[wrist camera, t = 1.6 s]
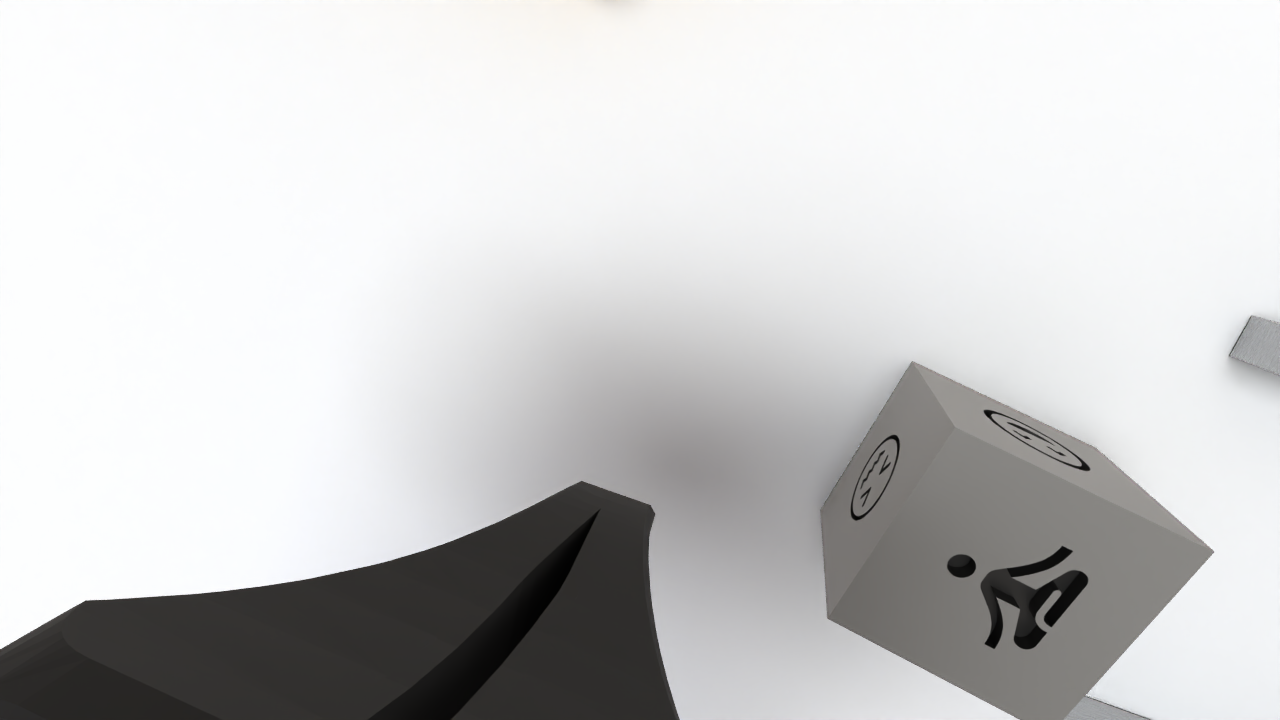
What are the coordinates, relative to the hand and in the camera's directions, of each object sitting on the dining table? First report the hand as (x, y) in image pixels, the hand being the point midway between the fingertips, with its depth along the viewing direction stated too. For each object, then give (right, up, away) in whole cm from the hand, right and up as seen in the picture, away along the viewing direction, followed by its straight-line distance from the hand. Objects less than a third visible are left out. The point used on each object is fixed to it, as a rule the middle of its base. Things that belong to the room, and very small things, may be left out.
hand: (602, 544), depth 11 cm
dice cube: (+9, 0, +7) cm, 11 cm away
